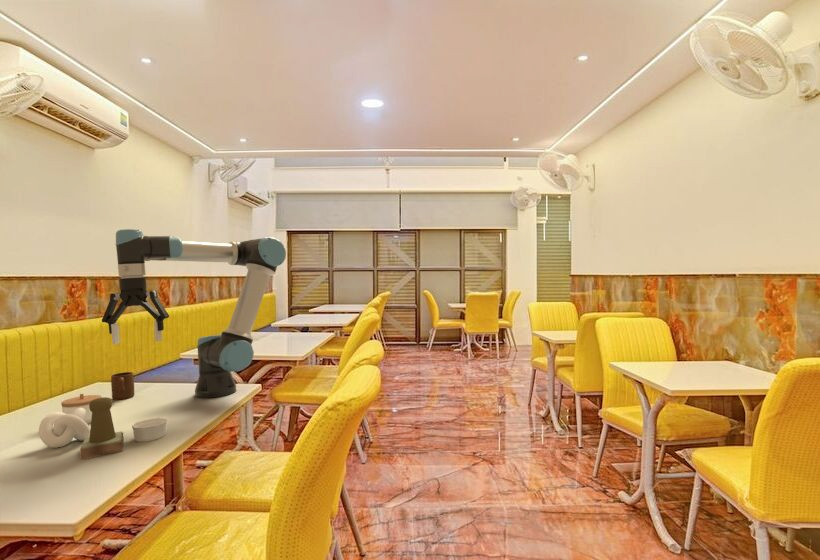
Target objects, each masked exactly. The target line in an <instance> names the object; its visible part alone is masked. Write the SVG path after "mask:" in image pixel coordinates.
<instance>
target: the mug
mask: <svg viewBox="0 0 820 560" xmlns="http://www.w3.org/2000/svg"><path fill="white" fill-rule="evenodd" d="M110 382H111V383H110V385H111V399H112V400H113V401H120V400H121V401H122V400H126V399H127V400H128V399H131V398H133V397H134V396H135V377H134V372H132V371H126V372H118V373H114V374H112V375H111V378H110Z"/></svg>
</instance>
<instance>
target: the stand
mask: <svg viewBox="0 0 820 560" xmlns="http://www.w3.org/2000/svg"><path fill="white" fill-rule="evenodd" d="M115 435H116V437H115V438H113V439H111V440H108V441H105V442H99V443H90V442H89V438H90V437H87V438H85V439H84V440H83V441H82V442H83V443H82V445H81V446H80V460H84V459H85V460H86V459H90V458H94V457H101V456H105V455H111V454H115V453H120V452H123V447H124V442H125V441H124V432H123V431H122V430H121V431H115Z"/></svg>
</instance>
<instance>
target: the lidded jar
mask: <svg viewBox="0 0 820 560" xmlns="http://www.w3.org/2000/svg"><path fill="white" fill-rule="evenodd" d="M97 398H103V397H102V396H101V395H99V394H89V395H88V394H87V395H84V393H80V394H79V396H75V397H71V398H70V397H69V398H67V399H66V400H65V399H64V400H63V401H61V411H62V412H61V413H65V414H72V415H73V413H74V411H75V410H76V409H78V408H84V409H85V410H86V414H85V416H84V418H83V420H84V421H85V422H86V423H87V424H88V425H89V424H91V418H92V412H91V411H90V409H89V404H90V402H91V401H92V400H94V399H97Z"/></svg>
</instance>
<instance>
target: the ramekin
mask: <svg viewBox="0 0 820 560" xmlns="http://www.w3.org/2000/svg"><path fill="white" fill-rule="evenodd" d="M167 422H168V419H167V418H164V417H157V418H149V419H145V420H141V421H138V422H134V423H133V424H132V425H131V428H132V431H133V438H134V441H136V442H140V443H143V442H144V443H146V442H151V441H155V440H158V439H162V438H163V437H165V435H166V433H167Z"/></svg>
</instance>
